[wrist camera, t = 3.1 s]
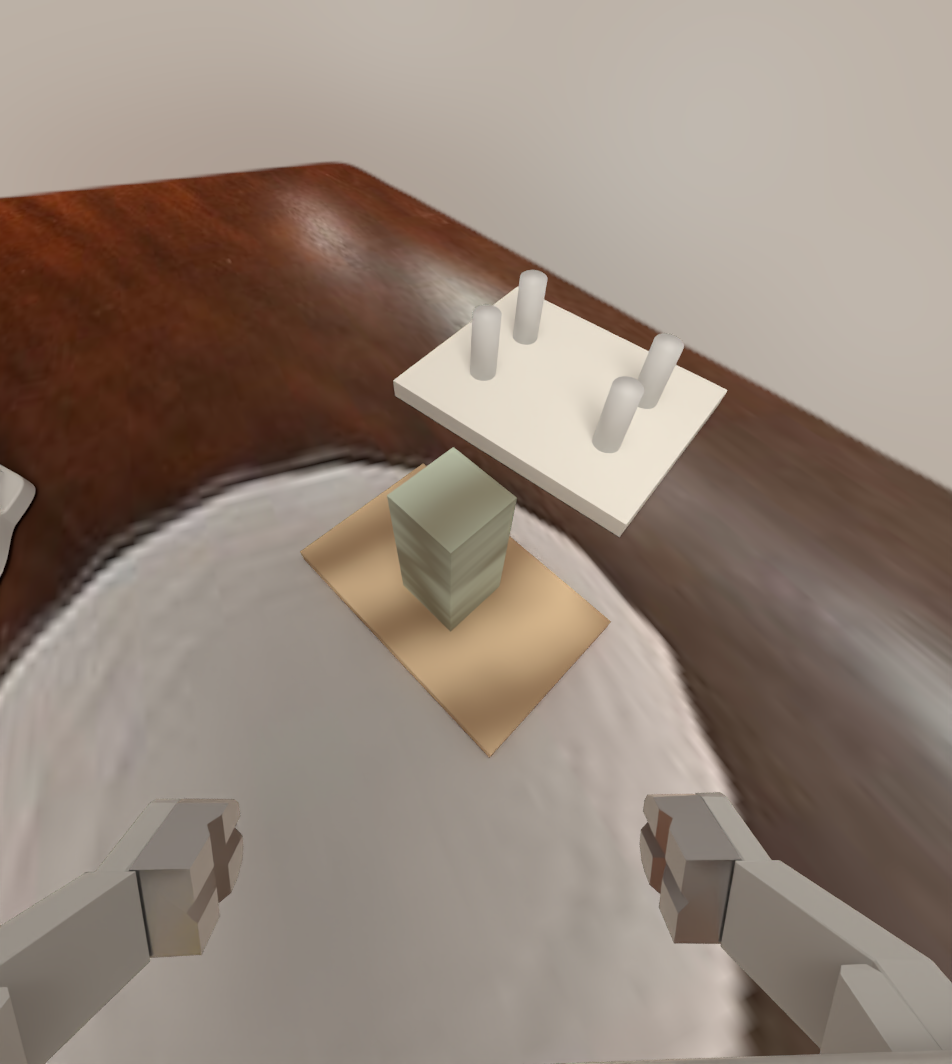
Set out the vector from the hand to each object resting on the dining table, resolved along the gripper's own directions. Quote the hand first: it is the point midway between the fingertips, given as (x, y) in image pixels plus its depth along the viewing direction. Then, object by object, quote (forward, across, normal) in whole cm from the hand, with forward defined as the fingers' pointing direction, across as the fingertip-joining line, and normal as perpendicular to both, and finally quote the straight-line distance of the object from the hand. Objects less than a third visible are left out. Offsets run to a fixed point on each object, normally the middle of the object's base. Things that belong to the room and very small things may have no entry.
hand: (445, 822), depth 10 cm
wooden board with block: (+20, 0, +3) cm, 20 cm away
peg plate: (+32, -8, -9) cm, 34 cm away
